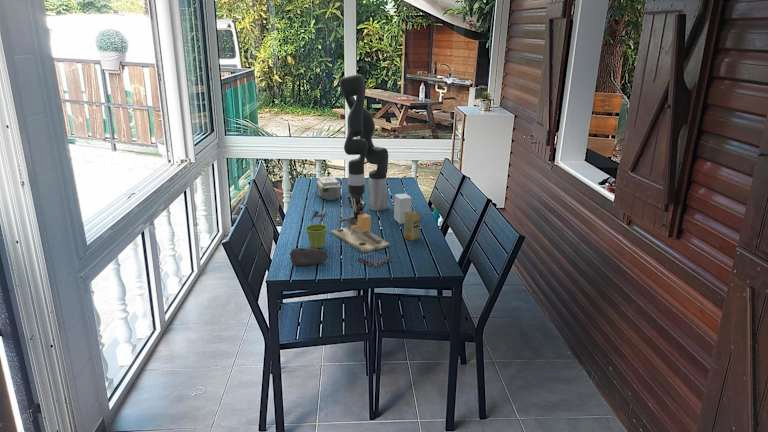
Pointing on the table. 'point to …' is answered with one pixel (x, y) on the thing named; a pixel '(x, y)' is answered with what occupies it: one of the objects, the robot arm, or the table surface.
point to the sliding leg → (362, 223)
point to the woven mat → (374, 258)
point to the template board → (359, 237)
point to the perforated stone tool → (307, 256)
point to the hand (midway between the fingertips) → (356, 218)
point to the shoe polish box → (411, 225)
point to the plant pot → (316, 235)
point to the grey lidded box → (328, 188)
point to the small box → (401, 206)
